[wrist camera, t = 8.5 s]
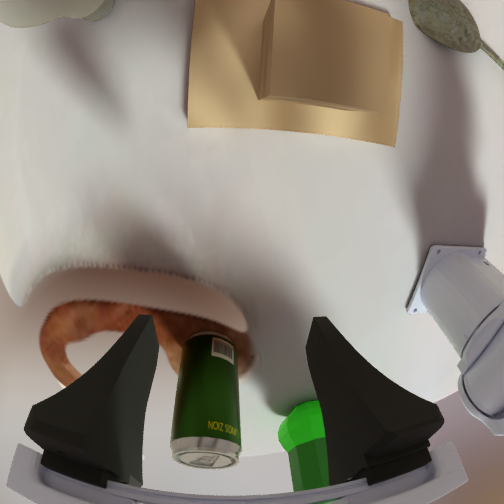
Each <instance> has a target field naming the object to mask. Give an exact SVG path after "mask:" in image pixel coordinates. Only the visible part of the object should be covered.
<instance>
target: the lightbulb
mask: <svg viewBox="0 0 504 504" xmlns="http://www.w3.org/2000/svg"><path fill="white" fill-rule="evenodd" d="M114 3H115V0H0V22H2V23H4V24H5V25H8V26H10V27H15V28H27V27H34V26H39V25H41V24H44V23H47V22H49V21H52V20H55V19H57V18H59V17H70V18H74V19H77V18H82V19H85V20H88V21H96V20H99V19H101V18H103V17H105V16H106V15H107V14H108V13H109V12H110V11H111V9H112V8H113V6H114Z"/></svg>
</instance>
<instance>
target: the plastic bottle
mask: <svg viewBox="0 0 504 504" xmlns="http://www.w3.org/2000/svg"><path fill="white" fill-rule="evenodd" d="M278 438H279V441H280V443H281V445H282V446H283V448H284V449H285V450H286V451H287V452H288V455H289V462H290V468H291V475H292V482H293V489H294V492H297V491H304V490H311V489H317V488H322V487H328V486H329V472H328V457H327V446H326V438H325V430H324V424H323V417H322V412H321V408H320V404H319V400H315V401H308V402H305V403H303V404H300V405H298V406H296V407H295V408H294V410H293V411H292V412H291V413H290V414H289V415H288V417H287V418H286V419H285V420H284V421H283V423H282V424H281V425H280V428H279V431H278ZM335 501H336V500H335ZM330 502H333V501H330ZM326 503H329V502H326ZM320 504H325V503H320Z"/></svg>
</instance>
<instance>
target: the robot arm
mask: <svg viewBox="0 0 504 504" xmlns="http://www.w3.org/2000/svg"><path fill="white" fill-rule="evenodd" d="M437 250H438V251H437ZM486 252H487V250H486V249H485V248H483V247H464V246H443V245H433V246H432V247H431V248H430V250H429V253H428V256H427V259H426V262H425V265H424V267H423V270H422V273H421V276H420V278H419V281H418V283H417V286H416V288H415V291H414V293H413V296H412V298H411V301H410V303H409V305H408V308H407V313H408V314H416V313H424V312H429V314H430V315H431V316H432V318H433V319H434V320H435V322H436V323H437V324H438V326H439V327H440V329H441V330H442V331H443V333H444V334H445V336H446V337H447V339H448V340H449V341H450V343H451V344H452V346H453V347H454V349H455V350H456V352H457V353H458V355H459V356H460V358H461V360H460V362H459V363H458V365H457V366H458V368H459V370H460V371H461V375H460V377H459V379H458V389H459V395H460V398H461V401H462V403H463V405H464V407H465V408H466V409H467V410H468V412H469V413H470V414H471V415H473V416H474V417H475V418H477V419H479V420H480V421H482V422H483V423H484V424H485V425H486V426H487V427H488V428H489V429H490V431H491V432H492V433H493V435H496V436H501V435H504V275H503V274H502V273H501V272H500V271H499V270H498V269H497V268H496V267H495V266H493V265H492V264H491V263H490V262H489V261H488V260H487V259H485V255H486ZM158 352H159V344H158V340H157V335H156V331H155V327H154V322H153V318H152V315H140V314H139V315H138V316H137V317H136V319H135V320H134V321H133V322H132V324H131V325H130V326H129V327H128V328H127V330H126V331H125V332H124V333H123V335H122V336H121V337H120V338H119V339H118V340H117V342H116V343H115V344H114V345H113V346H112V347H111V348H110V349H109V351H108V352H107V353H106V354H105V355H104V356H103V357H102V358H101V359H100V360H99V361H98V362H97V363H96V364H95V365H94V366H93V367H92V368H90V369H89V370H88V371H87V372H86V373H85V374H83V375H82V376H81V377H80V378H78V379H77V380H76V381H74V382H73V383H72V384H70V385H69V386H67V387H66V388H64V389H63V390H61V391H60V392H58V393H56V394H55V395H53V396H51V397H49V398H48V399H45V400H44V401H41V402H39V403H37V404H35V405H33V406H32V409H31V411H30V413H29V416H28V418H27V421H26V424H25V427H24V431H25V433H26V434H27V435H28V436H29V437H30V438H31V439H32V440H33V441H34V442H35V443H37V444H38V445H39V446H40V447H41V448H42V449H44V452H43V455H42V454H40V453H39V452H37V451H35V450H32V449H30V448H28V447H26V446H24V445H22V444H20V443H19V444H18V445H17V449H16V451H15V455H14V458H13V461H12V465H11V468H10V472H9V476H8V480H7V487H9V488H11V489H12V490H14V491H16V492H17V493H19V494H21V495H22V496H24V497H26V498H28V499H30V500H31V501H33V502H35V503H37V504H139V503H143V504H320V503H325V504H429V503H431V502H433V501H435V500H437V499H439V498H440V497H442V496H444V495H446V494H447V493H449V492H451V491H452V490H454V489H456V488H458V487H459V486H461V485H463V484H464V483H466V482H467V481H468V478H467V475H466V472H465V470H464V467H463V465H462V462H461V460H460V457H459V455H458V452H457V450H456V448H455V445H454V443H453V441H451V442H449V443H446V444H444V445H442V446H440V447H438V448H436V449H434V450H432V451H431V452H429V451H428V448H427V447H429V446H430V443H429V440H428V439H429V438H430V437H431V436H432V435H433V434H435V433H436V432H437V431H438V430H439V429H440V428H441V427H442V425H443V424H444V418H443V416H442V414H441V412H440V410H439V408H438V406H437V405H436V404H434V403H432V402H429V401H427V400H425V399H422V398H420V397H418V396H416V395H414V394H413V393H411V392H409V391H407V390H405V389H404V388H402V387H400V386H399V385H397V384H396V383H394V382H393V381H391V380H390V379H389V378H387V377H386V376H384V375H383V374H382V373H381V372H379V371H378V370H377V369H376V368H374V367H373V366H372V365H371V364H370V363H369V362H368V361H367V360H366V359H365V358H363V357H362V356H361V355H360V354H359V353H358V352H357V351H356V350H355V349H354V347H353V346H352V345H351V344H350V343H349V342H348V341H347V340H346V339H345V338H344V337H343V335H342V334H341V333H340V332H339V331H338V330H337V328H336V327H335V326H334V325H333V324H332V323H331V322H330V320H329V319H328V318H327V317H313V321H312V325H311V329H310V333H309V336H308V340H307V344H306V354H307V360H308V366H309V370H310V373H311V377H312V380H313V384H314V387H315V390H316V394H317V397H318V400H319V404H320V408H321V412H322V417H323V424H324V430H325V438H326V446H327V457H328V472H329V486H328V487H322V488H317V489H311V490H304V491H297V492H289V493H280V494H268V495H252V496H251V495H249V496H213V495H195V494H183V493H173V492H166V491H159V490H152V489H147V488H141V486H142V485H143V480H142V446H143V431H144V420H145V412H146V407H147V401H148V398H149V394H150V390H151V386H152V381H153V378H154V374H155V370H156V366H157V359H158ZM335 500H336V501H335ZM330 501H333V502H330ZM137 502H138V503H137ZM326 502H329V503H326Z"/></svg>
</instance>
